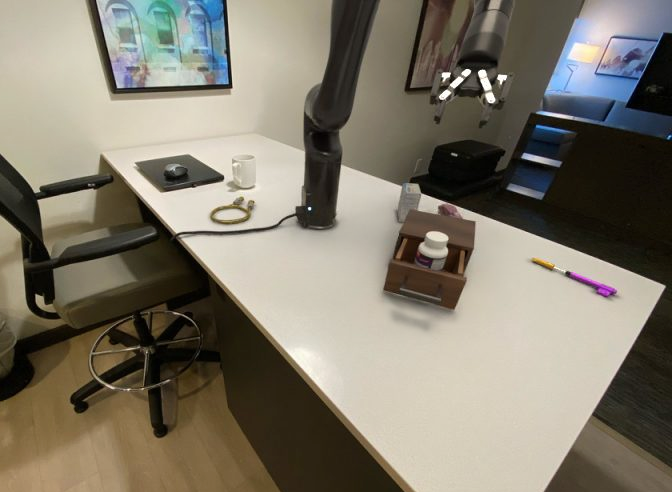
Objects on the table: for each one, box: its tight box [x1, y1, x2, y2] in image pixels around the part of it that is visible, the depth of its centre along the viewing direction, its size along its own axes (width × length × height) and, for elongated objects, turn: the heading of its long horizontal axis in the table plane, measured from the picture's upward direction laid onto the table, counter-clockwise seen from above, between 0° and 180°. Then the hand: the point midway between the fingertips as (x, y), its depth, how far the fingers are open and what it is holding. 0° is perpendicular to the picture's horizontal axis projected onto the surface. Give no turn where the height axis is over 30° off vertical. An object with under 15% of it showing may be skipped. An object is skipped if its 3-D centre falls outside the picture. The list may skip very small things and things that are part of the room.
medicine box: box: [396, 182, 422, 223], centre depth 93 cm, size 8×4×9 cm, turn 168°
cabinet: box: [392, 209, 477, 277], centre depth 74 cm, size 14×15×9 cm
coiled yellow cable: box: [210, 196, 256, 225], centre depth 96 cm, size 12×16×2 cm
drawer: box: [382, 237, 468, 311], centre depth 64 cm, size 18×13×7 cm
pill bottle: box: [414, 231, 448, 271], centre depth 64 cm, size 5×5×10 cm
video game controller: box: [437, 202, 464, 219], centre depth 90 cm, size 10×5×7 cm, turn 5°
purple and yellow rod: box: [531, 257, 618, 298], centre depth 71 cm, size 3×1×16 cm
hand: (459, 123), depth 63 cm, fingers open, 7 cm apart
